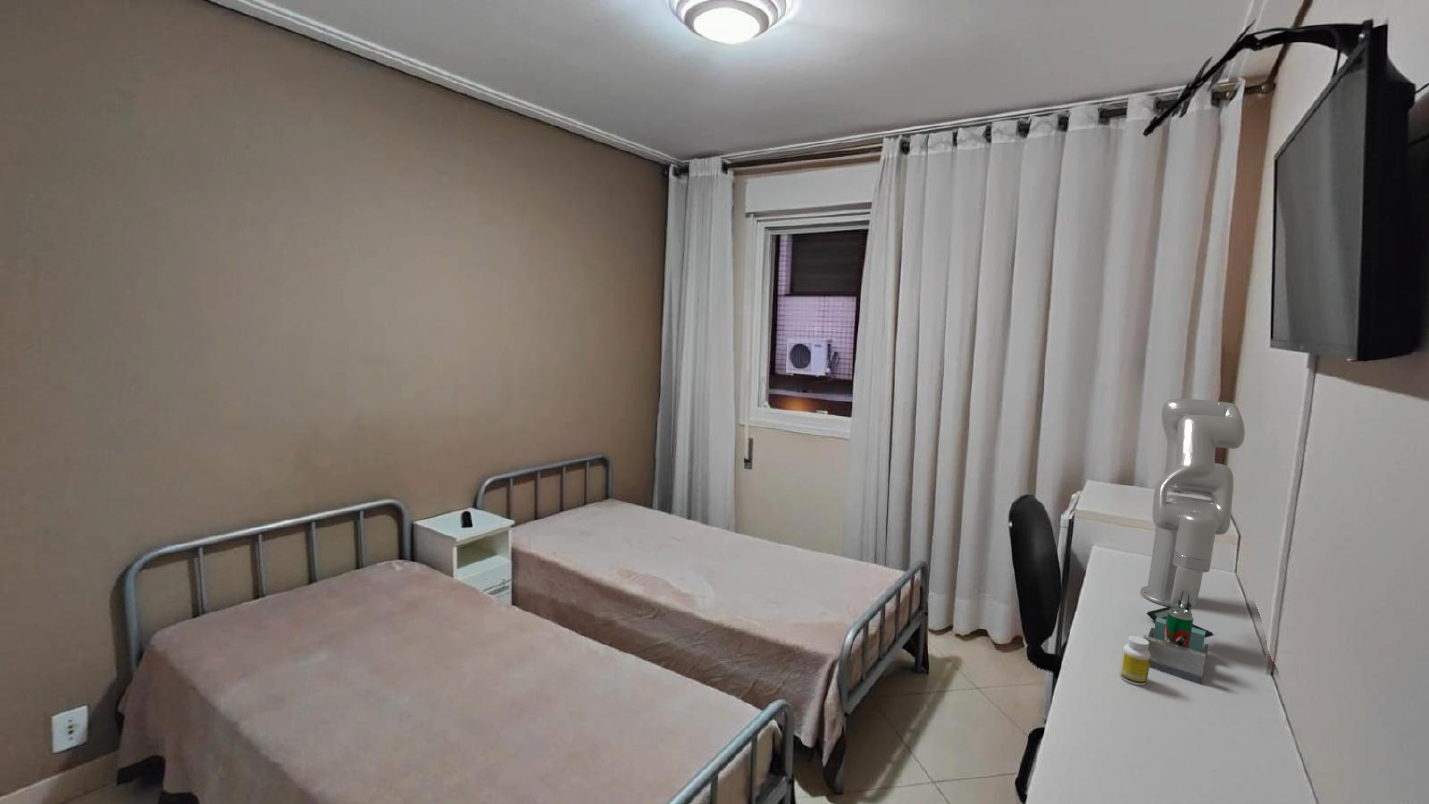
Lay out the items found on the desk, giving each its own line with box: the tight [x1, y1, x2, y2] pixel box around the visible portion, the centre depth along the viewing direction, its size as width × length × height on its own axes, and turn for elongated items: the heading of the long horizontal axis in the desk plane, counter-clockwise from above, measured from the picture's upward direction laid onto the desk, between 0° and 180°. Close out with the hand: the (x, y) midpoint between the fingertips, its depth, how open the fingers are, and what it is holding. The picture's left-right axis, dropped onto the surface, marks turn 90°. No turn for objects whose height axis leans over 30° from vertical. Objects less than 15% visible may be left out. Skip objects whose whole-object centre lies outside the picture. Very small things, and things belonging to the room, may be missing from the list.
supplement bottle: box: [1118, 635, 1151, 686], centre depth 146 cm, size 5×5×10 cm
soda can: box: [1163, 607, 1194, 649], centre depth 153 cm, size 5×5×12 cm
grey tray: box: [1142, 627, 1210, 685], centre depth 156 cm, size 18×12×6 cm, turn 139°
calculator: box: [1146, 606, 1213, 638], centre depth 173 cm, size 9×12×3 cm
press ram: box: [1153, 617, 1206, 653], centre depth 160 cm, size 3×10×5 cm, turn 49°
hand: (1181, 628), depth 165 cm, fingers closed
